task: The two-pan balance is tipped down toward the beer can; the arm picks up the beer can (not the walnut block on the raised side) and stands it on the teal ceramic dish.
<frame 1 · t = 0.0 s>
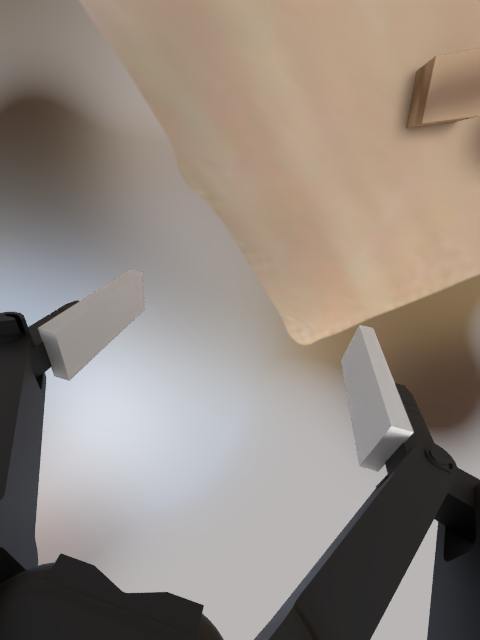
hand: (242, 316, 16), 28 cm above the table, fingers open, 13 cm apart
walnut block: (436, 97, 29), on the table
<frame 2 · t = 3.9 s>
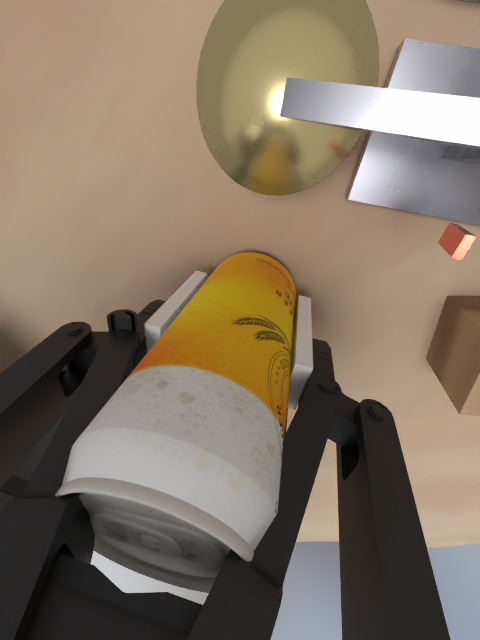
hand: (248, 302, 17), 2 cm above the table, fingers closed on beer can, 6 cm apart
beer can: (253, 289, 19), on the table, touching gripper
balance: (452, 146, 13), on the table
walnut block: (479, 330, 17), on the table
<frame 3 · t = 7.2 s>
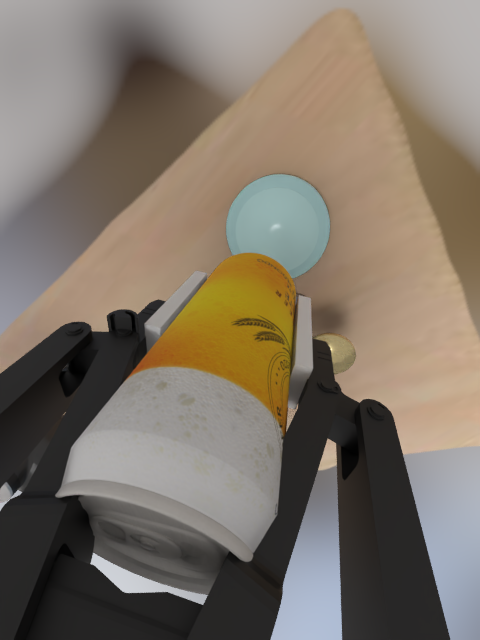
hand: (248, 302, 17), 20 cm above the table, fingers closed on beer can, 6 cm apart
dish: (276, 231, 34), on the table
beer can: (253, 289, 19), point 18 cm above the table, touching gripper
balance: (272, 306, 40), on the table
when the fingers open (4 cm above the table, at t = 10.3 s): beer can drops 1 cm, resting on dish.
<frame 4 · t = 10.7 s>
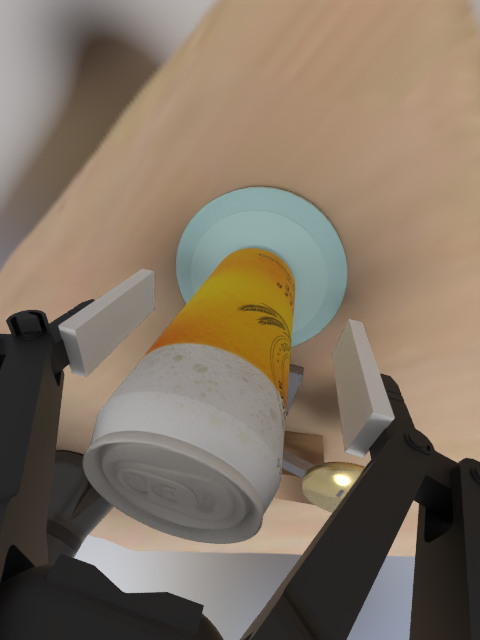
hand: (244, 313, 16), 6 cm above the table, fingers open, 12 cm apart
dish: (258, 277, 21), on the table
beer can: (255, 283, 20), point 1 cm above the table, touching dish
balance: (256, 378, 27), on the table
walnut block: (299, 445, 31), on the table
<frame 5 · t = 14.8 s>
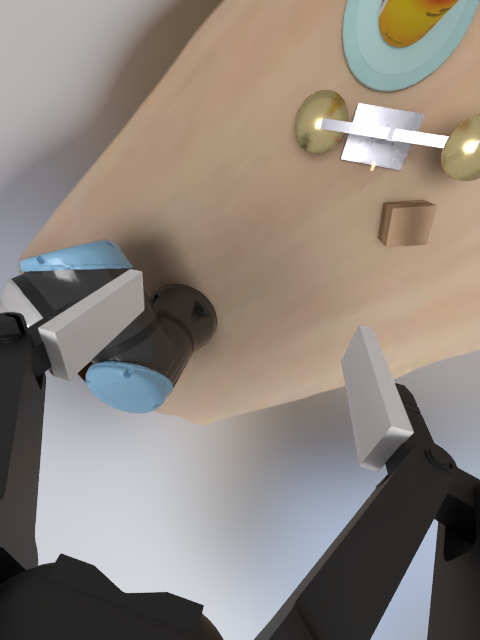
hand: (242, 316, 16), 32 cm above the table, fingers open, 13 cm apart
dish: (405, 14, 29), on the table
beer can: (407, 10, 28), point 1 cm above the table, touching dish
balance: (378, 138, 34), on the table
walnut block: (398, 219, 39), on the table
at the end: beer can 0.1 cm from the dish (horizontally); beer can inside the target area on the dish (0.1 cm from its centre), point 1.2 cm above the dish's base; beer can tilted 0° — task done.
